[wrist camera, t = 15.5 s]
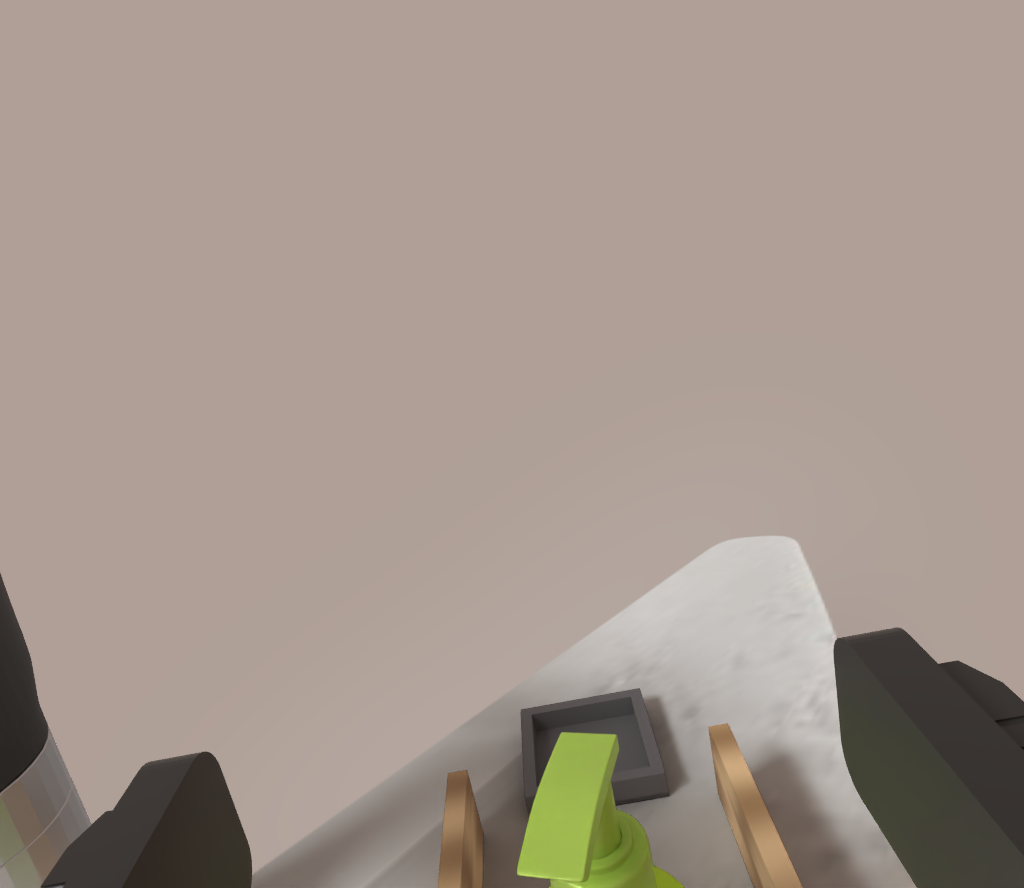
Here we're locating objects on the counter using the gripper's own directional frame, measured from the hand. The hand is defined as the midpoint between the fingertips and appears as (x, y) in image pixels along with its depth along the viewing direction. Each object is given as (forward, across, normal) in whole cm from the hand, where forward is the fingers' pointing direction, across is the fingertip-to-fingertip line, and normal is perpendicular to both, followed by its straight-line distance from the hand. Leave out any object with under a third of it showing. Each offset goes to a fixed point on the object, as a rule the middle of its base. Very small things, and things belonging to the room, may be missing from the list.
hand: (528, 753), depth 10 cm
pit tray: (+36, 0, +30) cm, 47 cm away
